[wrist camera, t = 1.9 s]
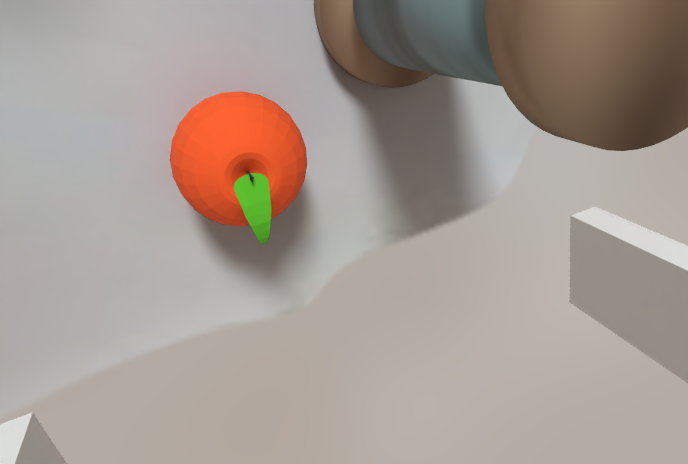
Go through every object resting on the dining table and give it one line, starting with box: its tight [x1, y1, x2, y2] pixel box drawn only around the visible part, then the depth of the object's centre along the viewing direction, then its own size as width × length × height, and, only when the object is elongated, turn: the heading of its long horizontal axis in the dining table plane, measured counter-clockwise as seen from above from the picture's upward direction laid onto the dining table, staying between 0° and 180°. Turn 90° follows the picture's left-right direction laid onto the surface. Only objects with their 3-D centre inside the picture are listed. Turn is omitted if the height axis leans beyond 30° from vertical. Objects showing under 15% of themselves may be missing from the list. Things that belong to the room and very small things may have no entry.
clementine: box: [170, 92, 307, 244], centre depth 26 cm, size 8×7×7 cm
